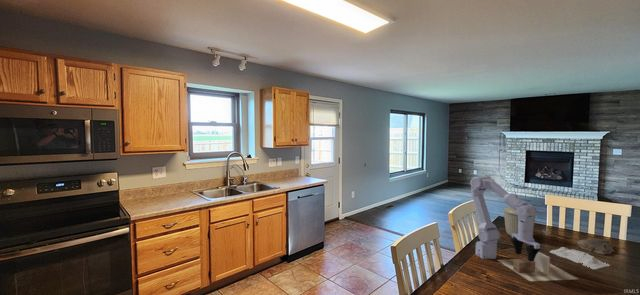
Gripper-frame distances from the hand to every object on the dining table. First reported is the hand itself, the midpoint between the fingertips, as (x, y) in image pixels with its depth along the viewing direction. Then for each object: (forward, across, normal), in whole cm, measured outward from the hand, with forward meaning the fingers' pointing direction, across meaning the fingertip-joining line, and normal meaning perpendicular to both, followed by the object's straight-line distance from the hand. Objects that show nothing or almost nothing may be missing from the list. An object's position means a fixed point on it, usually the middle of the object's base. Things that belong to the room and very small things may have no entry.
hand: (524, 257), depth 134 cm
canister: (+8, +45, -34) cm, 57 cm away
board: (+8, +2, -7) cm, 11 cm away
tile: (+7, 0, -9) cm, 11 cm away
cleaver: (+8, +51, -56) cm, 76 cm away
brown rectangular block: (+7, 0, 0) cm, 7 cm away
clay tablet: (+8, +24, -65) cm, 70 cm away
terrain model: (+9, +13, -41) cm, 44 cm away
